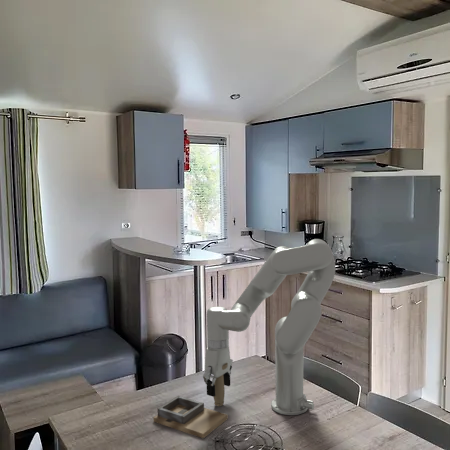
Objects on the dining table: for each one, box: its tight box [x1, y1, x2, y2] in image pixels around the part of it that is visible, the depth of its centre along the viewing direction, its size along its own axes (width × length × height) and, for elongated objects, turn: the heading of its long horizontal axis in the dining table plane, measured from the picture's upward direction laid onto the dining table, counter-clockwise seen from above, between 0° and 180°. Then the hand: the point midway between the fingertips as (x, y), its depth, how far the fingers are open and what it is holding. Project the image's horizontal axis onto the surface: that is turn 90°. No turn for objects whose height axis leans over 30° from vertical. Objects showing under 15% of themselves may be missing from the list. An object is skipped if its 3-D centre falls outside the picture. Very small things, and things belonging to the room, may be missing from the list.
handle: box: [213, 363, 228, 407], centre depth 165 cm, size 5×6×15 cm
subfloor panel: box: [152, 395, 229, 439], centre depth 154 cm, size 20×14×4 cm
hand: (218, 390), depth 165 cm, fingers open, 9 cm apart
